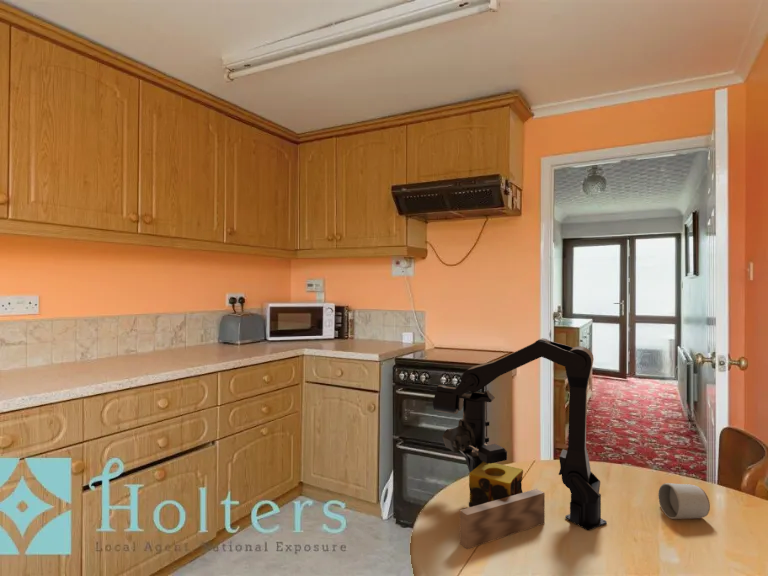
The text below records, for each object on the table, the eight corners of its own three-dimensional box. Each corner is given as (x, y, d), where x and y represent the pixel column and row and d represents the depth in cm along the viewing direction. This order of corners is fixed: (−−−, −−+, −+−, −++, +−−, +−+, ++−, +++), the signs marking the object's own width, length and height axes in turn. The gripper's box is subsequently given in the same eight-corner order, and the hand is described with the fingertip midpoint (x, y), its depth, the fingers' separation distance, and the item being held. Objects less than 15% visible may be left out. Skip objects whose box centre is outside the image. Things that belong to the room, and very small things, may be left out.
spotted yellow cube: (523, 510, 115) (524, 468, 114) (510, 528, 106) (511, 483, 106) (483, 498, 120) (484, 459, 120) (467, 515, 112) (468, 472, 111)
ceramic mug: (713, 523, 108) (712, 489, 108) (679, 525, 107) (678, 491, 107) (680, 503, 118) (679, 472, 119) (649, 504, 118) (648, 473, 118)
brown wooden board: (536, 518, 110) (536, 488, 110) (544, 523, 108) (544, 492, 108) (459, 543, 100) (459, 510, 100) (467, 548, 98) (466, 515, 98)
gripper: (427, 410, 125) (426, 469, 126) (472, 431, 109) (470, 499, 109) (461, 406, 130) (460, 462, 131) (509, 425, 114) (507, 490, 114)
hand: (473, 477), depth 121 cm, fingers closed
